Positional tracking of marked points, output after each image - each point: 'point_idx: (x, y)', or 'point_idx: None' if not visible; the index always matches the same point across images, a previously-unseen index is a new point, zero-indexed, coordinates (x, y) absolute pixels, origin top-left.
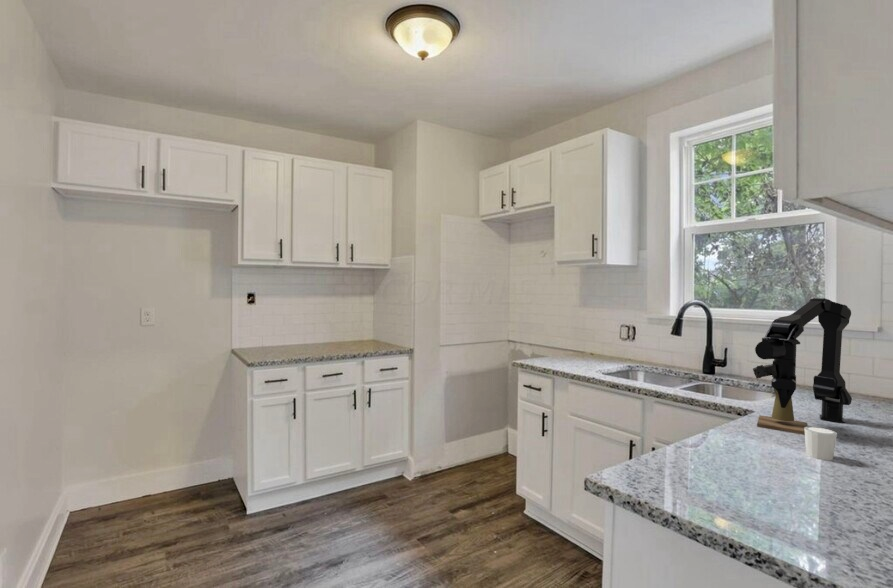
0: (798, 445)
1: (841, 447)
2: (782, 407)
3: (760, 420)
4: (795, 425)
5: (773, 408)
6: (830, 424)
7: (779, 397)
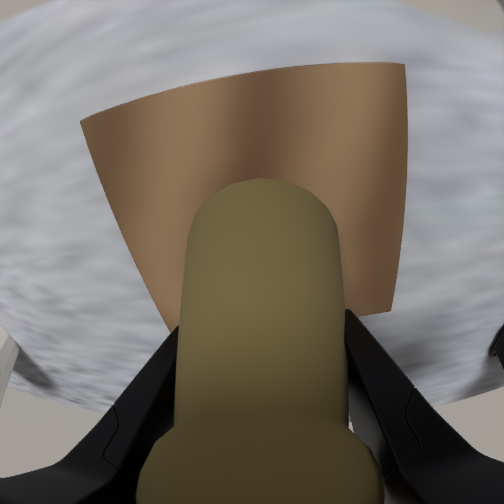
0: (13, 304)
1: (122, 379)
2: None
3: (200, 100)
4: None
5: (225, 240)
6: (460, 338)
7: (112, 408)
